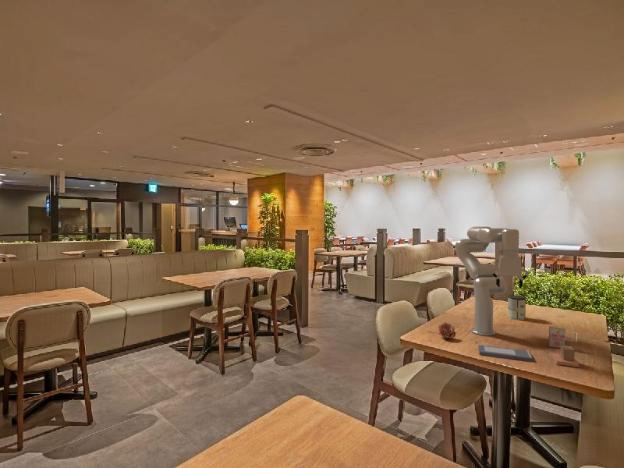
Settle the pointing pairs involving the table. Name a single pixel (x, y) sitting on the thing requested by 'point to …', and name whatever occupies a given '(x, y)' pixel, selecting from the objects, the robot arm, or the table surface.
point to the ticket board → (505, 353)
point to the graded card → (576, 337)
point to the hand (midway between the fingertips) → (509, 287)
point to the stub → (565, 357)
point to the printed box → (556, 337)
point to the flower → (447, 330)
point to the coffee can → (516, 307)
